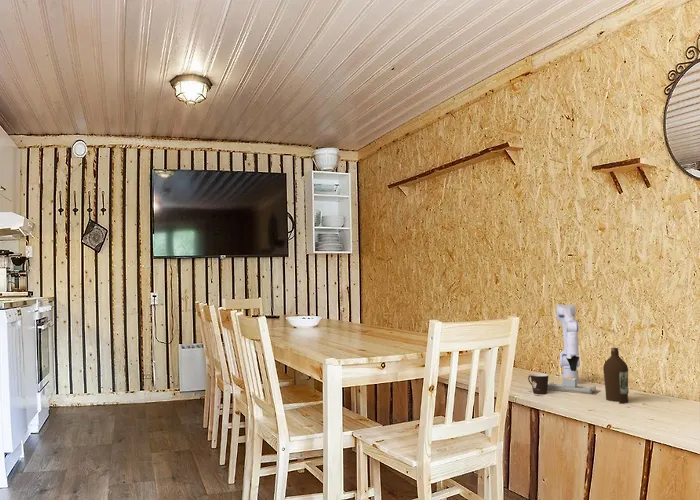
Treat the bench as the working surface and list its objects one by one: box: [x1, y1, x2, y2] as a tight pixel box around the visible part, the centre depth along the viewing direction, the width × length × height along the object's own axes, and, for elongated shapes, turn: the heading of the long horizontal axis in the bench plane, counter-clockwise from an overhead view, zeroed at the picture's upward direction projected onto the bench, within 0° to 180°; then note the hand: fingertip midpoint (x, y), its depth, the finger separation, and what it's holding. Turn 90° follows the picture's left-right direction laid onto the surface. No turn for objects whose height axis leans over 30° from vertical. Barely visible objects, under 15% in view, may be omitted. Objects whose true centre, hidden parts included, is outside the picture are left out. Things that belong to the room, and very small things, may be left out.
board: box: [549, 390, 601, 396], centre depth 288 cm, size 11×26×1 cm, turn 53°
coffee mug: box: [527, 372, 549, 397], centre depth 284 cm, size 12×9×10 cm
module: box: [562, 377, 578, 387], centre depth 287 cm, size 4×6×6 cm, turn 53°
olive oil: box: [602, 347, 629, 404], centre depth 265 cm, size 11×11×25 cm
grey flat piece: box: [547, 381, 597, 395], centre depth 288 cm, size 9×22×2 cm, turn 53°
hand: (573, 370), depth 293 cm, fingers closed
